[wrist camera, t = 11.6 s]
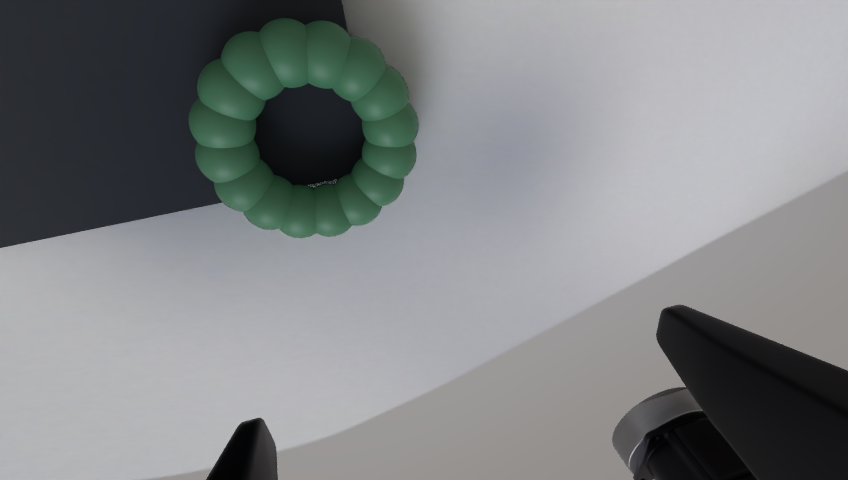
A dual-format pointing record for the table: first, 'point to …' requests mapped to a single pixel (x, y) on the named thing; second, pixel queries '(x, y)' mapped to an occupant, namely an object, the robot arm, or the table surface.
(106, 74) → the mat
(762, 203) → the table surface
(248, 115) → the ring
